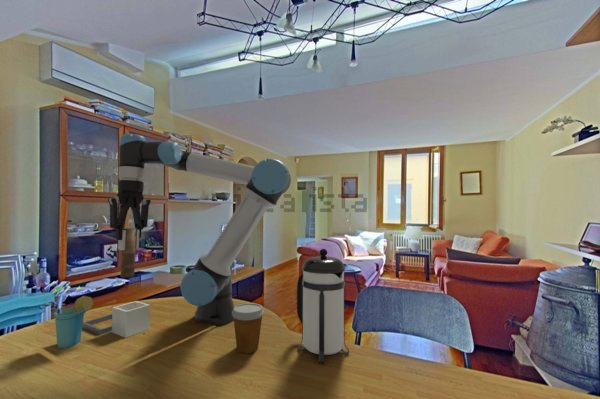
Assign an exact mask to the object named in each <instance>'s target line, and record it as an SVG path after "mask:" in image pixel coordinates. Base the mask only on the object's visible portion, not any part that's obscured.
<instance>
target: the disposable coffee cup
mask: <svg viewBox="0 0 600 399" xmlns="http://www.w3.org/2000/svg"><path fill="white" fill-rule="evenodd" d="M264 313H265V311H264V309H263V306H262V304H259V303H254V302H248V303H240V304H237V305H234V309H233V312H232V315H233V317H234V320H233V323H234V324H233V326H234V336H235V345H236V351H237V352H239V353H241V354H243V353H244V354H250V353H254V352H256V351H257V350H259V345H260V344H259V343H260V335H261V329H262V323H263V322H262V321H263V316H264Z"/></svg>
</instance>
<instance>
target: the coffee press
mask: <svg viewBox="0 0 600 399" xmlns="http://www.w3.org/2000/svg"><path fill="white" fill-rule="evenodd" d="M319 255H320V256H319ZM319 255H317V256H312V257H309V258H307V259H306V260H305V261H304V262H303V265H301V269H302V274H301V275H299V277H298V279H297V285H296V286H297V287H296V288H297V289H296V309H297V310H296V311H297V312H296V313H297V318H298V319H299V321H300V322H301V341H300V342H299V344H298V346H297V350H298V351H300V350H301V351H300V352H302V351H303V350H304V349H306V350H307V351H309V353H311V354H315V355H318V364H319V365H324V364H325V356H330V355H336V354H338V353H339V352H340V351H341V352H342V353H343V354H344V355H348V354H349V353H350V350H349V347H348V346H347V344H346V338H345V334H346V332H345V329H346V328H345V326H346V325H345V322H346V318H345V316H346V314H345V312H346V311H345V310H346V306H345V303H346V302H345V300H346V299H345V292H346V291H345V290H346V288H345V286H346V281H345V280H346V279H345V271H346V266H345V265H344V263H343V261H342V260H341V259H340V258H337V257H333V256H327V255H328V251H327V249H326V248H321V249H320V251H319ZM302 343H303V347H300V346H301V345H302ZM344 347H345V348H346V350H347V351H345V350H344V349H343V348H344Z"/></svg>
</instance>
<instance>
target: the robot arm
mask: <svg viewBox="0 0 600 399" xmlns="http://www.w3.org/2000/svg"><path fill="white" fill-rule="evenodd" d="M119 140H120V141H119V147H118V149H119V158H118V161H119V164H118V179H119V180H118V182H117V191H118V193H117V195H116V196H115V197H110V198H108V199H107V202H108V204H109V228H110V229H114V230H115V232H116V233H115V238H116V239H115V240H116V241H118V242H117V250H119V251H122V250H125V237H126V230H123V229H125V228H124V227H125V224H126V221H127V220H126V219H127V215H128V211H129V210H131V211H132V218H133V224H134V228H136V244H135V250H139V247H140V239H141V238H142V230H143V229H144V228H147V227H148V224H149V223H148V220H149V210H150V209H149V207H150V204H151V202H152V201H151V199H147V198H145V197H144V194H143V193H144V180H145V165H147V164H150V165H151V164H154V165H157V164H158V165H162V166H166V167H168V168H171V169H174V170H176V171H184V172H189V173H192V174H198V175H201V176H206V177H211V178H215V179H219V180H224V181H228V182H232V183H237V184H242V185H245V187H244V188H245V192H246V193H245V196H244V197H243V199H242V200H241V201H240V203H239V205H238V206H237V208H236V209H235V211H234V212H233V214H232V216H231V217H230V219H229V221H228V222H227V223H226V225H225V226H224V228H223V230H222V231H221V232H220V234H219V236H218V237H217V238H216V241H214V244H213V245H212V246H211V249H210V250H209V252H208V253H206V254H202V255H200V256H199V258H198V260H197V261H196V263H195V265H194V266H193V268H192V269H191V270H190V271H188V272H187V273H185V275H184V276H183V277H182V279H181V282H180V286H179V287H180V289H179V290H180V293H181V296H182V297H183V299H184V300H185V301H186V302H188V303H189V305H192V306H196V311H195V312H194V320H195V321H196V322H197V323H200V324H208V325H212V324H213V325H212V326H213V327H217V326H223V325H225V324H228V323H231V322H234V317H233V315H232V312H233V309H234V307H235V304H234V301H233V296H232V291H233V290H232V288H233V287H232V285H233V263H234V261H235V260H236V258H237V257H238V255H239V253H240V252H241V250H242V249H243V247H244V246H245V244H246V242H247V241H248V239H249V238H250V236H251V235H252V234H253V232H254V230H255V228H256V227H257V226H258V224H259V222H260V221H261V220H262V218H263V216H264V215H265V213H266V211H267V210H268V209H269V208H271V207H275V206H276V204H277V202H278V201H279V199H280V197H281V196H282V195H283V194H285V193H286V192H287V191H288V189H289V188H290V186H291V183H292V182H291V181H292V179H291V178H292V177H291V175H290V171H289V168H288V167H287V166H286V165H285V163H283V162H282V161H280V160H278V159H276V158H265V159H263V160H260V161H259V162H257V164H256V165H255V166H254V165H249V164H245V163H240V162H236V161H232V160H226V159H222V158H217V157H213V156H209V155H205V154H199V153H196V152H190V151H187V150H182V149H181V147H180V145H179V143H178V142H175V141H167V140H166V141H146V138H145V136H143V135H139V134H135V133H134V134H133V133H125V134H122V135H121V137H120V139H119ZM118 204H120V206H119V205H118ZM140 204H141V205H140Z"/></svg>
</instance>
